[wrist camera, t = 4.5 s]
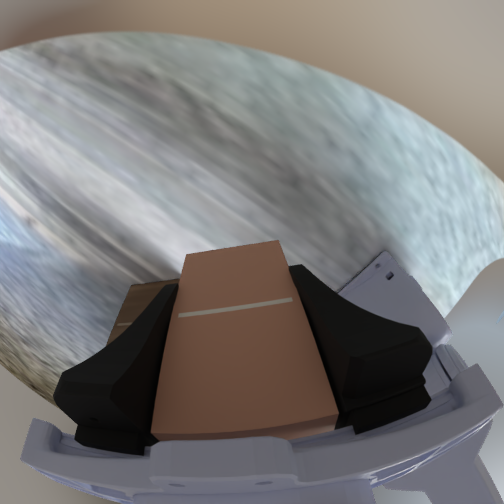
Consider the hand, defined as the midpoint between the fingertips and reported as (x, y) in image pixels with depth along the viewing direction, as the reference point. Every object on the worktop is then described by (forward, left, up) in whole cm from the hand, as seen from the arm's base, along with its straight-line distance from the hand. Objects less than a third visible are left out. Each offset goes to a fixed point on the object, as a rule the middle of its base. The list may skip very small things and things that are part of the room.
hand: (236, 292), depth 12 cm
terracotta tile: (0, 0, -3) cm, 3 cm away
